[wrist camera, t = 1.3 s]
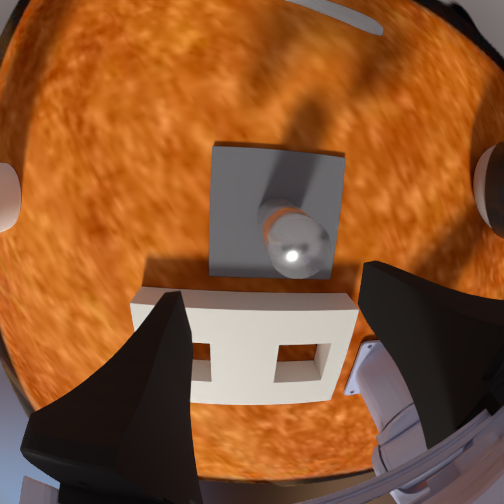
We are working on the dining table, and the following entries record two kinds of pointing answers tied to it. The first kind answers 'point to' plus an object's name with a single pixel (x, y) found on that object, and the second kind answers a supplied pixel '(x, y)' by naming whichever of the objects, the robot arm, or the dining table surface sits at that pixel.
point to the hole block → (261, 343)
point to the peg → (292, 238)
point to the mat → (255, 193)
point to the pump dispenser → (491, 188)
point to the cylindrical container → (9, 196)
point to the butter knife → (343, 15)
